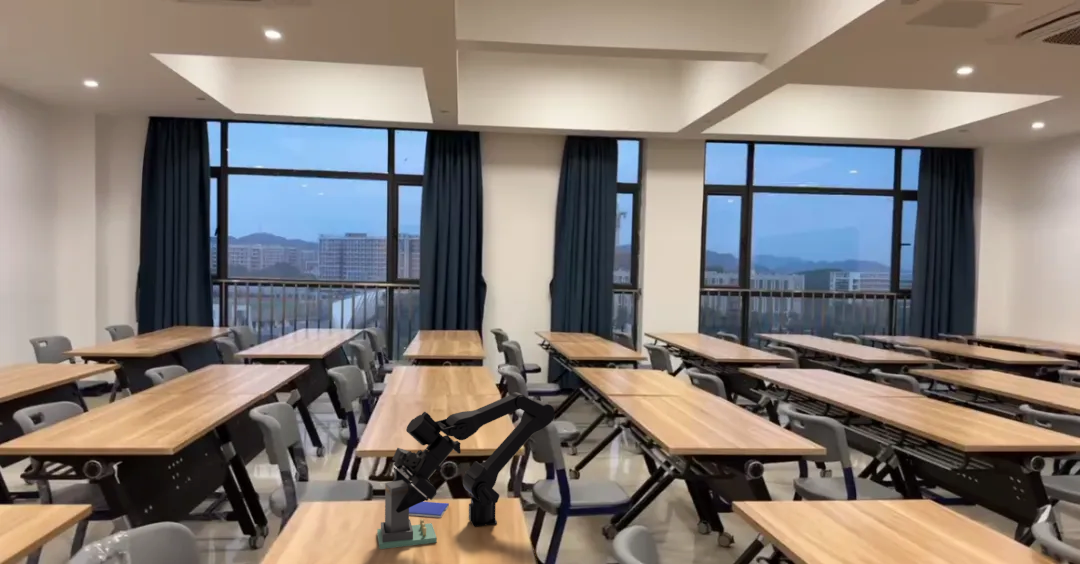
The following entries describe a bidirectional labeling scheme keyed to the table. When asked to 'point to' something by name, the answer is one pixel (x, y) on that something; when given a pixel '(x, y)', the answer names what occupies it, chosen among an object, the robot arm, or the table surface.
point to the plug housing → (392, 500)
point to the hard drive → (428, 509)
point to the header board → (407, 536)
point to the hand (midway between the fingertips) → (391, 505)
